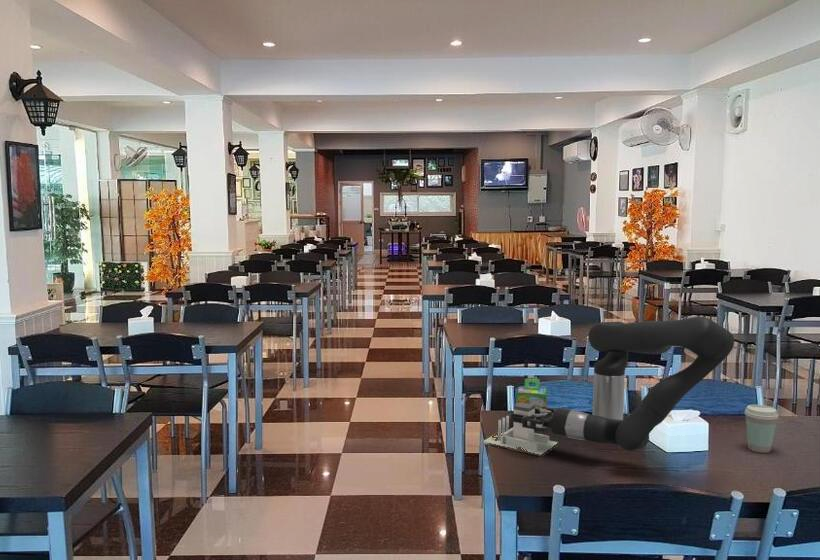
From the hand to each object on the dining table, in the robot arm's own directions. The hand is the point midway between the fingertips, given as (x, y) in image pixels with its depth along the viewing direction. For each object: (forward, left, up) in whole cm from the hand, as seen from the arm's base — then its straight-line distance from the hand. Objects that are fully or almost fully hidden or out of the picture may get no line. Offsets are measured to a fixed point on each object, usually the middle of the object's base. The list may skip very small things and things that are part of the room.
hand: (518, 413), depth 193 cm
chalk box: (-18, -4, -9) cm, 21 cm away
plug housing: (0, +2, -8) cm, 8 cm away
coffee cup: (-37, +58, -9) cm, 69 cm away
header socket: (0, +1, -9) cm, 9 cm away
